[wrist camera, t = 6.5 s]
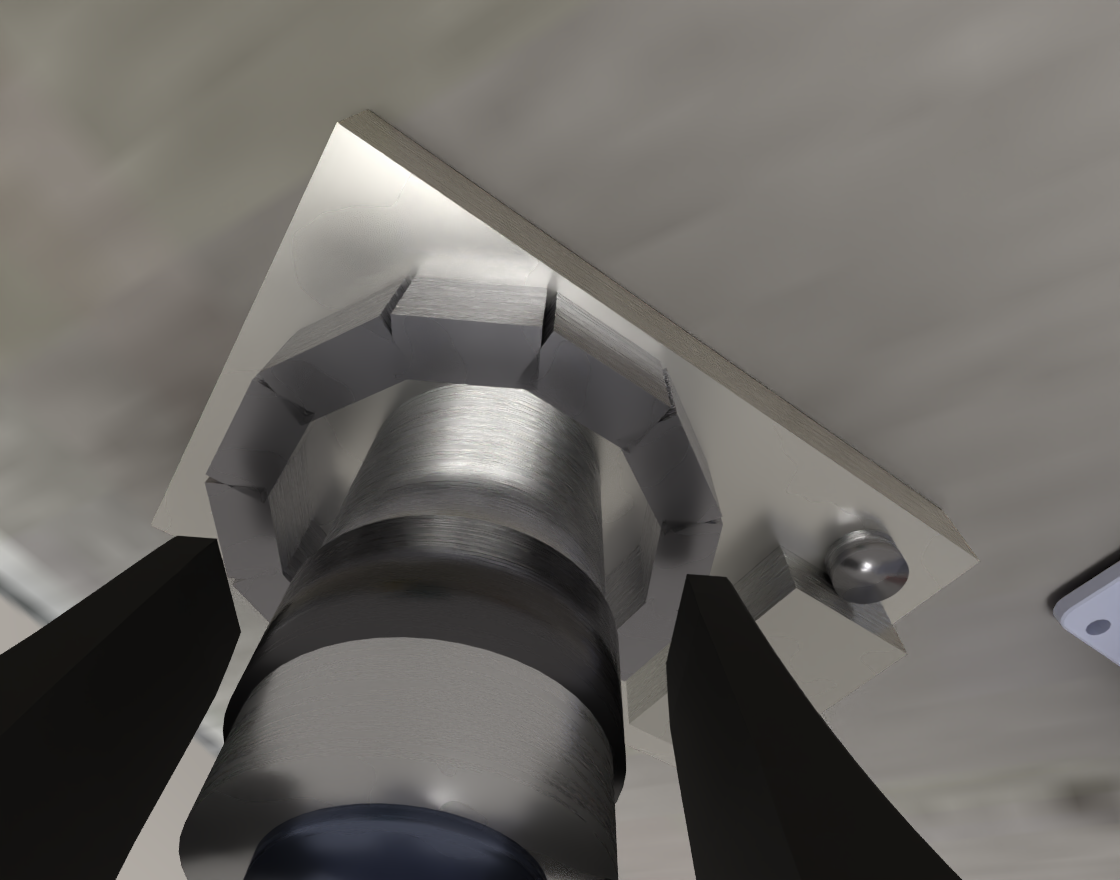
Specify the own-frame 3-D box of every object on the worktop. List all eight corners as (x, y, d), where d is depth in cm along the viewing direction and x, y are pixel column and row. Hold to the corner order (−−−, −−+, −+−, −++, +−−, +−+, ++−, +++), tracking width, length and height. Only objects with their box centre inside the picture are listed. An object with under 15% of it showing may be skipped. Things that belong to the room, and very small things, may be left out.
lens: (588, 589, 14) (593, 1026, 8) (362, 563, 14) (190, 992, 8) (629, 392, 12) (685, 804, 6) (356, 356, 11) (96, 746, 5)
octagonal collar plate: (944, 511, 15) (1024, 622, 12) (679, 718, 19) (694, 835, 16) (367, 109, 11) (295, 139, 8) (189, 479, 15) (102, 581, 12)
